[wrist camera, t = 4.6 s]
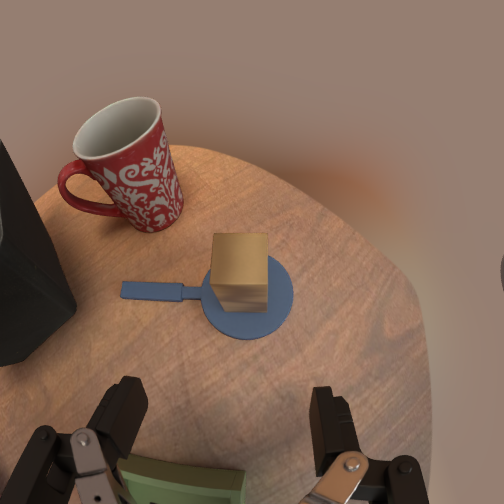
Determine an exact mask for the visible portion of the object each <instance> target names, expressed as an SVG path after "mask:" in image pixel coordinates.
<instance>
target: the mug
mask: <svg viewBox="0 0 504 504" xmlns="http://www.w3.org/2000/svg"><path fill="white" fill-rule="evenodd" d="M161 113H162V112H161V106H160V104H159V103H158V102H157V101H155V100H154V99H152V98H148V97H133V98H127V99H124V100H121V101H118V102H115V103H113V104H111V105H109V106H107V107H105V108H103V109H102V110H100V111H99V112H97V113H96V114H94V115H93V116H92V117H91V118H90V119H89V120H87V121H86V122H85V123H84V124H83V126H82V127H81V128H80V129H79V131H78V132H77V134H76V136H75V139H74V142H73V151H74V154H75V155H76V156H77V157H78V158H79V160H75V161H73V162H71V163H69V164H67V165H66V166H65V167H64V168H63V169H62V170H61V172H60V174H59V176H58V188H59V192H60V194H61V196H62V197H63V199H64V200H65V201H66V202H67V203H68V204H69V205H71V206H72V207H74V208H76V209H78V210H81V211H83V212H87V213H91V214H96V215H102V216H111V217H124V218H127V219H128V221H129V222H130V223H131V224H132V225H133V226H134V227H135V228H136V229H138V230H140V231H143V232H156V231H160V230H162V229H165V228H166V227H168V226H169V225H171V224H172V223H173V222H174V221H175V220H176V219H177V218H178V216H179V215H180V213H181V211H182V208H183V195H182V192H181V188H180V185H179V182H178V178H177V175H176V171H175V168H174V164H173V161H172V157H171V153H170V150H169V145H168V141H167V137H166V134H165V130H164V126H163V123H162V119H161ZM74 174H85V175H87V176H89V177H90V178H92V179H93V180H97V181H98V183H99V184H100V185H101V187H102V188H103V189H104V190H105V192H106V193H107V194H108V195H109V197H110V198H111V199H112V201H113V202H114V204H102V203H97V202H92V201H87V200H84V199H81V198H78V197H76V196H74V195H73V194H72V193H70V192H69V191H68V189H67V188H66V186H65V184H66V181H67V179H68V178H69V177H70V176H72V175H74Z"/></svg>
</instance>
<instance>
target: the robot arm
mask: <svg viewBox="0 0 504 504" xmlns="http://www.w3.org/2000/svg"><path fill="white" fill-rule="evenodd" d="M147 409H148V398H147V395H146V393H145V390H144V387H143V385H142V382H141V379H140V378H137V377H131V376H123V378H122V379H121V381H120V383H119V384H114V385H113V386H111V387H110V388H109V389H108V390H107V391H106V393H105V395H104V396H103V399H102V400H101V401H100V403H99V405H98V407H97V408H96V410H95V412H94V414H93V416H92V417H91V419H90V421H89V423H88V424H87V426H86V428H80V429H77V430H76V431H74V432H73V434H62V433H57V432H56V431H55V430H54V429H53V428H52V427H51V426H48V425H44V426H40V427H38V428H37V429H36V430H35V432H34V433H33V435H32V437H31V439H30V440H29V442H28V444H27V446H26V448H25V449H24V451H23V453H22V455H21V457H20V459H19V461H18V463H17V465H16V467H15V469H14V471H13V473H12V475H11V477H10V479H9V481H8V483H7V485H6V487H5V490H4V492H3V494H2V496H1V498H0V504H68V501H69V499H70V496H71V493H72V490H73V488H74V485H75V483H76V486H77V490H78V493H79V496H80V499H81V502H82V504H137V503H136V501H135V500H134V498H133V497H132V495H131V494H130V492H129V489H128V487H127V485H126V483H125V480H124V478H123V476H122V473H121V471H120V468H119V466H118V464H117V461H118V459H119V458H122V459H125V460H127V459H128V456H129V453H130V451H131V448H132V446H133V443H134V441H135V438H136V436H137V433H138V431H139V428H140V426H141V424H142V421H143V419H144V416H145V414H146V411H147ZM309 419H310V427H311V435H312V444H313V452H314V461H315V470H316V477H322V476H323V477H322V478H321V479H320V481H319V482H318V483H317V484H316V486H315V487H314V488H313V489H312V491H311V492H310V493H309V494H307V495H306V496H305V497H304V498H303V499H302V500H301V501H300V502H299V503H298V504H346V503H347V501H348V500H349V499H354V500H365V501H368V502H369V504H429V500H428V496H427V492H426V488H425V484H424V480H423V476H422V472H421V469H420V465H419V463H418V461H417V460H416V459H415V458H414V457H412V456H408V455H401V456H398V457H396V458H394V459H393V460H392V461H380V460H373V459H370V458H368V457H366V456H365V455H364V454H363V453H362V452H361V450H360V447H359V443H358V439H357V435H356V431H355V427H354V423H353V419H352V416H351V412H350V408H349V404H348V403H347V402H346V401H345V399H344V398H343V397H342V396H338V397H333V394H332V389H331V387H330V386H324V387H314V388H313V392H312V398H311V403H310V409H309ZM52 463H53V464H52ZM51 465H52V466H51ZM50 467H51V468H50ZM49 469H50V470H49ZM48 471H49V473H48ZM47 474H48V475H47ZM46 476H47V477H46ZM150 504H157V503H153V502H150Z"/></svg>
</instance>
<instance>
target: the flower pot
mask: <svg viewBox="0 0 504 504" xmlns="http://www.w3.org/2000/svg"><path fill="white" fill-rule="evenodd" d="M76 308H77V305H76V301H75V299H74V297H73V295H72V292H71V290H70V288H69V285H68V283H67V280H66V278H65V275H64V273H63V270H62V268H61V265H60V263H59V260H58V257H57V254H56V251H55V249H54V245H53V243H52V241H51V238H50V236H49V234H48V232H47V230H46V228H45V226H44V224H43V222H42V220H41V218H40V216H39V213H38V211H37V209H36V207H35V205H34V203H33V201H32V200H31V197H30V195H29V193H28V191H27V189H26V187H25V185H24V183H23V182H22V179H21V177H20V176H19V173H18V171H17V170H16V168H15V166H14V164H13V162H12V160H11V158H10V156H9V154H8V152H7V150H6V148H5V146H4V145H3V143H2V141H1V139H0V367H3V366H7V365H11V364H15V363H18V362H22V361H24V360H25V359H26V358H27V357H28V356H29V355H30V354H31V353H32V352H33V351H34V350H35V349H36V348H37V347H38V346H40V345H41V344H42V343H43V342H44V341H45V340H46V339H47V338H48V337H49V336H50V335H52V334H53V333H54V332H55V331H56V330H57V329H58V328H59V327H60V326H61V325H63V324H64V323H65V322H66V321H67V320H68V319H69V318H71V317H72V316H73V315H74V314H75V312H76Z"/></svg>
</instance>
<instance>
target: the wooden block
mask: <svg viewBox="0 0 504 504" xmlns="http://www.w3.org/2000/svg"><path fill="white" fill-rule="evenodd" d="M209 284H210V286H211V288H212V289H213V291H214V293H215V295H216V297H217V299H218V300H219V302H220V304H221V306H222V307H223V309H224V311H225V312H246V313H267V303H268V234H267V233H214V235H213V246H212V257H211V269H210V281H209Z"/></svg>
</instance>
